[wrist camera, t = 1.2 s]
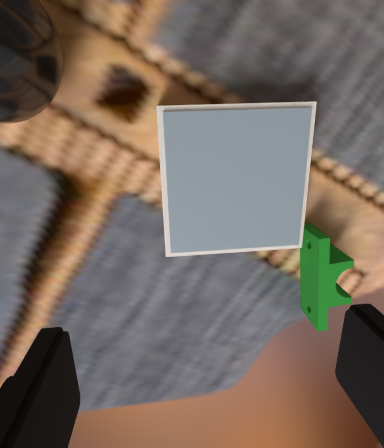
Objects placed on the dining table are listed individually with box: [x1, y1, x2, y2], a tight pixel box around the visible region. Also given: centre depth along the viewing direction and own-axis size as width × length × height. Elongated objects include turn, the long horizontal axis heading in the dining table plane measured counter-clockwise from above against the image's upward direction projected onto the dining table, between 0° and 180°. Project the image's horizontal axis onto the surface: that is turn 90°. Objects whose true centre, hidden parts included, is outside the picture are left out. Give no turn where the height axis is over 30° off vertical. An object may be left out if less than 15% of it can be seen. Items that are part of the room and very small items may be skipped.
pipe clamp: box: [300, 223, 354, 331], centre depth 33 cm, size 11×4×5 cm, turn 7°
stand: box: [156, 102, 317, 257], centre depth 29 cm, size 14×14×3 cm
